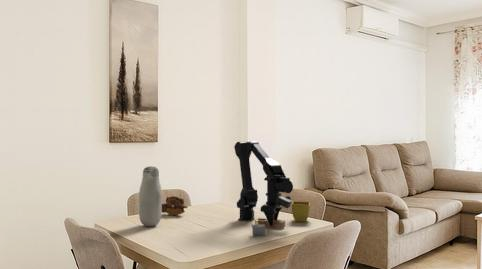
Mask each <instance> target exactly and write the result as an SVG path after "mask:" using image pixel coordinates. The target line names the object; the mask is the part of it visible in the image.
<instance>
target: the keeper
mask: <svg viewBox="0 0 482 269" xmlns="http://www.w3.org/2000/svg"><path fill="white" fill-rule="evenodd" d="M251 227H252V237H253V238H254V237H256V238H257V237H259V238H260V237H262V238H263V237H264V238H265V237H267V227H266V226H265V224H260V225H255V224H251Z"/></svg>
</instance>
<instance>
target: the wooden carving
mask: <svg viewBox="0 0 482 269" xmlns="http://www.w3.org/2000/svg"><path fill="white" fill-rule="evenodd" d="M165 202H166V203H162V213H163V214H164V213H166V214H168V215H170V216H179V215H181V214H182V215H183V214H184V213H185V212H186V210H184V209H188V208H189V207H188V205H185V199H184V198H182V197H181V196H177V195H174V196H167V197H166V199H165ZM162 213H161V214H162Z"/></svg>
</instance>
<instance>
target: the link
mask: <svg viewBox="0 0 482 269" xmlns="http://www.w3.org/2000/svg"><path fill="white" fill-rule="evenodd" d="M255 220H259V225H260V224H265V226H266V228H269V229H278V228H279V229H280V230H283V229H285V228H286V220H281V219H277V220H273V225H272V226H270V224H269V222H268V220H267V218H266V217H265V218H264V217H258V218H256V219H255ZM284 227H285V228H284ZM279 229H278V230H279Z"/></svg>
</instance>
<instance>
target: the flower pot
mask: <svg viewBox="0 0 482 269" xmlns="http://www.w3.org/2000/svg"><path fill="white" fill-rule="evenodd" d="M310 205H311V202H310V201H299V200H298V201H297V200H296V201H293V200H292V203H291V211H292V212H291V213H292V217H293V219H294V221H295V222H296V223H297V222H299V223H300V222H302V223H303V222H304V223H305V222H307V220H308V218H309V215H310V207H311V206H310Z"/></svg>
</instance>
